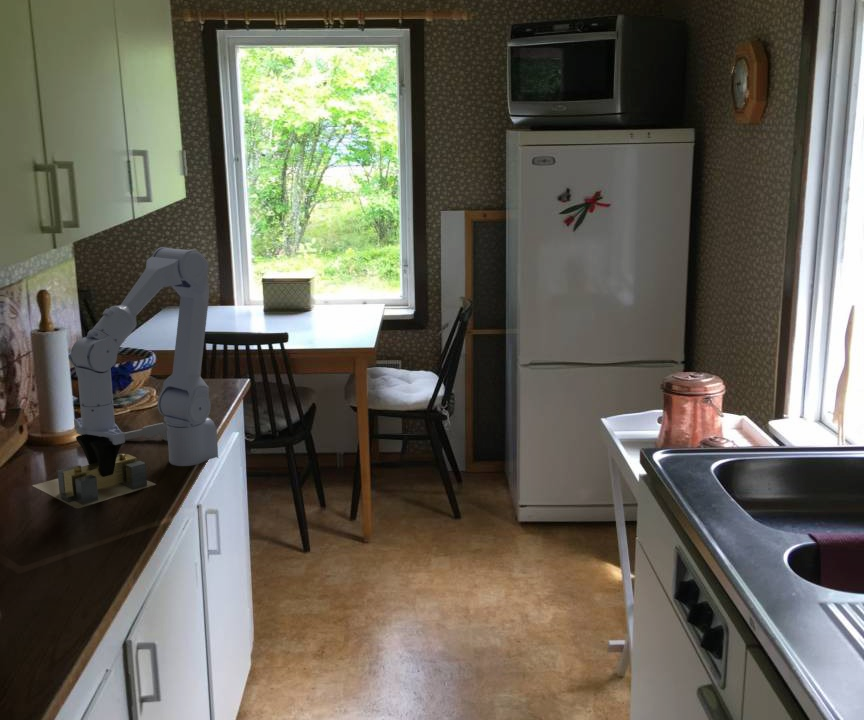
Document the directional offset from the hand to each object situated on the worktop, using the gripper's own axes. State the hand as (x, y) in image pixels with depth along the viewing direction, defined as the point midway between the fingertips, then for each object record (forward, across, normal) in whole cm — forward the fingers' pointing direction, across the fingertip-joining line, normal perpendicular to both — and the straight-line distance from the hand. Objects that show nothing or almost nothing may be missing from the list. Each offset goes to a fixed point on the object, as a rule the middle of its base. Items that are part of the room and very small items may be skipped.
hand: (102, 472), depth 169 cm
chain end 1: (+3, 0, -5) cm, 6 cm away
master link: (+2, 0, 0) cm, 2 cm away
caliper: (+4, -23, +19) cm, 30 cm away
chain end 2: (+3, 0, +5) cm, 6 cm away
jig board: (+4, -4, 0) cm, 5 cm away
